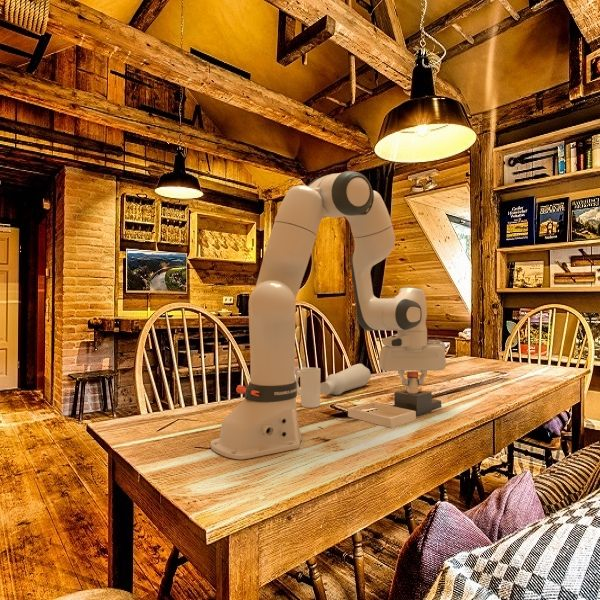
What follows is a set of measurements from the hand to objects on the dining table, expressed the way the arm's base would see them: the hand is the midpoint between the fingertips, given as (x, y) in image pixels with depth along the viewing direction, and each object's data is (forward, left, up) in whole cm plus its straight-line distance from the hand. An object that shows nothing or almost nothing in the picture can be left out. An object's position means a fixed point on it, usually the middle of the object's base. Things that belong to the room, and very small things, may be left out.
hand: (412, 384), depth 129 cm
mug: (-18, +29, -8) cm, 35 cm away
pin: (0, 0, -8) cm, 8 cm away
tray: (-13, +2, -8) cm, 15 cm away
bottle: (+7, +36, -9) cm, 37 cm away
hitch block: (+4, 0, -8) cm, 9 cm away
